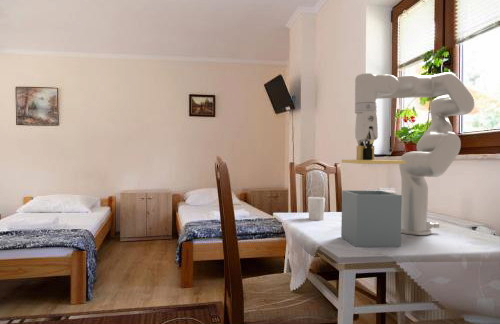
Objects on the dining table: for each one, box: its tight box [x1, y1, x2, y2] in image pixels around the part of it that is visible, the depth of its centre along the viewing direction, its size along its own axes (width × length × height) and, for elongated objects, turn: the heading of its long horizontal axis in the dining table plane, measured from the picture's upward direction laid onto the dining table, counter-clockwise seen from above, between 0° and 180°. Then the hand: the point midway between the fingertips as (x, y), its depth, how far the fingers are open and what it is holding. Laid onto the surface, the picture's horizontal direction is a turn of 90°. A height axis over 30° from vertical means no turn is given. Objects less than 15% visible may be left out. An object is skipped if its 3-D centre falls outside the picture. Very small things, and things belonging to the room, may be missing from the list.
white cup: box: [307, 196, 326, 221], centre depth 175 cm, size 8×8×10 cm
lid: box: [341, 145, 406, 165], centre depth 130 cm, size 16×16×6 cm
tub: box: [340, 189, 402, 248], centre depth 131 cm, size 15×15×17 cm
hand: (365, 159), depth 136 cm, fingers closed on lid, 4 cm apart
